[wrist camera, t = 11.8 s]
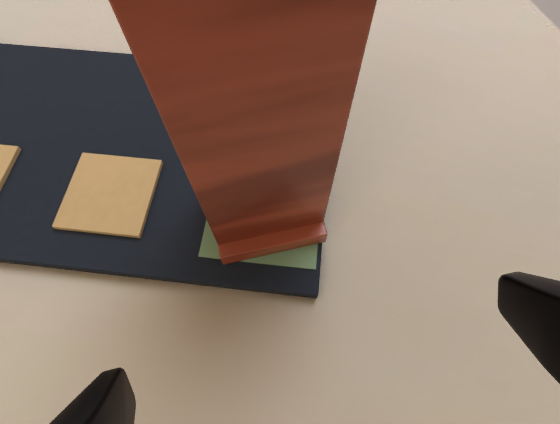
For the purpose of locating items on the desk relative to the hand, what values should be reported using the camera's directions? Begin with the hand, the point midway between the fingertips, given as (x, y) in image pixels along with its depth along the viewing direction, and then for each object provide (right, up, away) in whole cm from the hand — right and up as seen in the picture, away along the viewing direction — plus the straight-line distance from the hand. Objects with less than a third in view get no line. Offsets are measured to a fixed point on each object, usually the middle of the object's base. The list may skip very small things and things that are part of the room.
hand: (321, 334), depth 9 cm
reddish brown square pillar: (-2, +3, +10) cm, 11 cm away
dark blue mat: (-10, +6, +13) cm, 17 cm away
